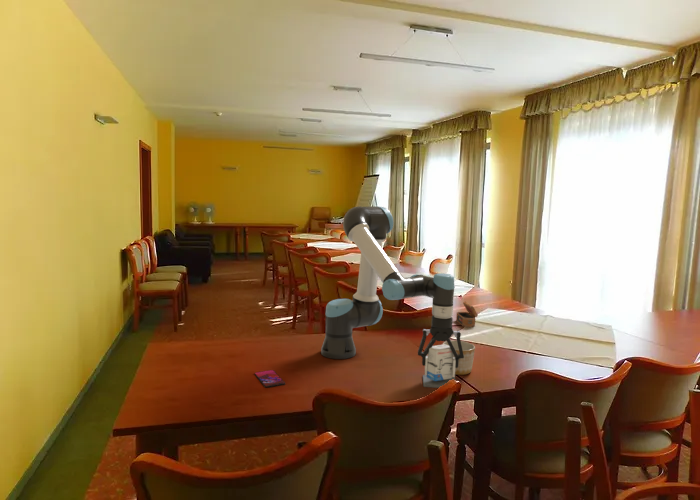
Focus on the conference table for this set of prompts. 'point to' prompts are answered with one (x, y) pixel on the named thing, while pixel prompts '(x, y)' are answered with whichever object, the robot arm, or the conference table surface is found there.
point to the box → (467, 316)
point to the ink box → (440, 362)
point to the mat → (434, 382)
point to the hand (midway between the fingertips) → (439, 374)
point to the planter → (467, 361)
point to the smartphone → (269, 379)
